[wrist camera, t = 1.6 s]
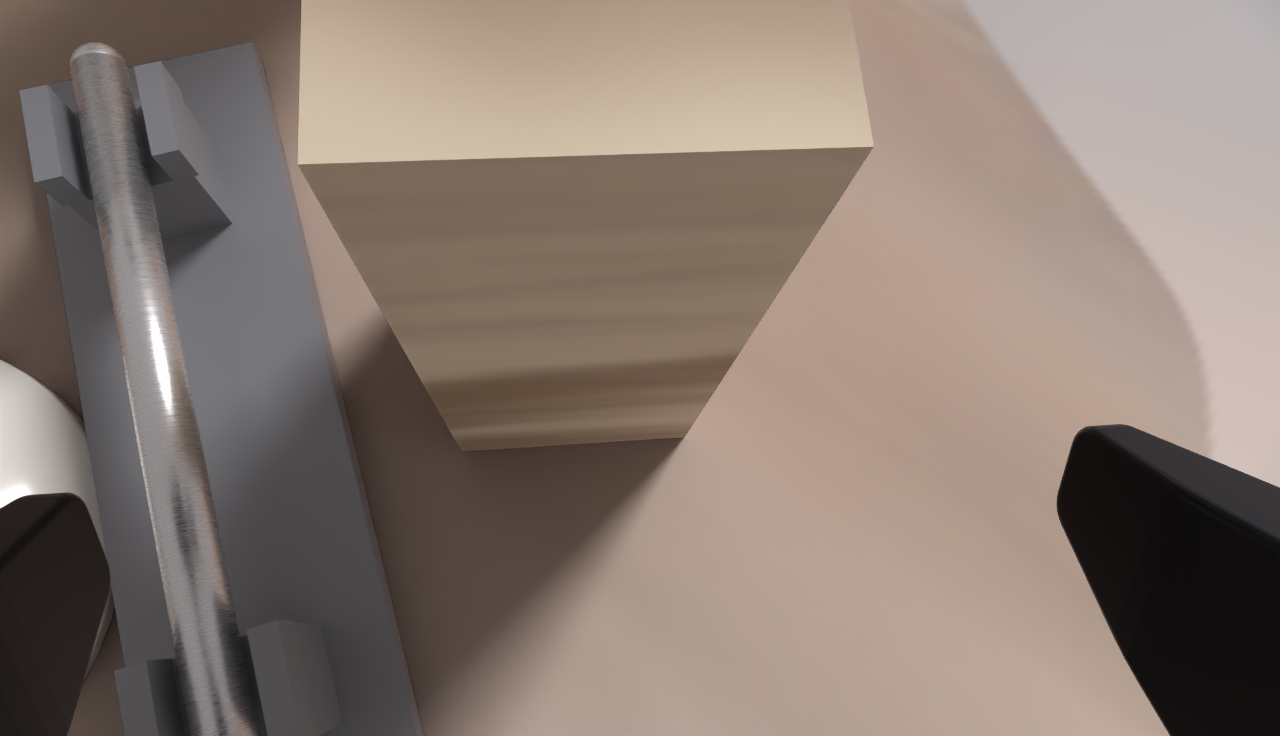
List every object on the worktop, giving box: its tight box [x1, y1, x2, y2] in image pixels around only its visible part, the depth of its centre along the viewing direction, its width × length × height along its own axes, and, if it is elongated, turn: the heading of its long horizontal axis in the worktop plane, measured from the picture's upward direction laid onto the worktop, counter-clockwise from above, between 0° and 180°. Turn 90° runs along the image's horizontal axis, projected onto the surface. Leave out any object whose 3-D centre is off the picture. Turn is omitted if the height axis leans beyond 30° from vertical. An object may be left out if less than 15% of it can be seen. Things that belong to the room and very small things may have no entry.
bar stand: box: [19, 42, 424, 736], centre depth 18 cm, size 18×5×4 cm, turn 17°
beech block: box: [298, 0, 874, 452], centre depth 15 cm, size 5×5×13 cm
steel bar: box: [70, 42, 260, 736], centre depth 16 cm, size 15×1×1 cm, turn 17°
